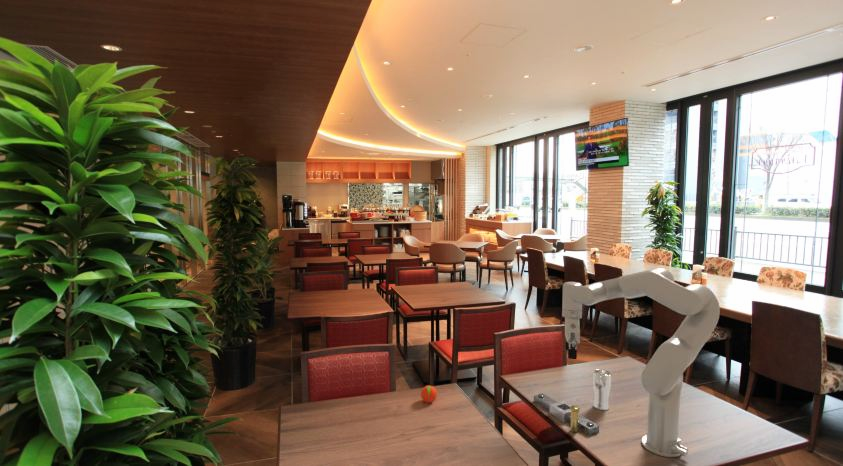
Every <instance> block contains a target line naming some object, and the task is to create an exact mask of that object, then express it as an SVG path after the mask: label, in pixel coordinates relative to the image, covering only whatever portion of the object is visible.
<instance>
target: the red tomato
mask: <svg viewBox="0 0 843 466" xmlns="http://www.w3.org/2000/svg"><path fill="white" fill-rule="evenodd" d="M420 396H421V399H422V401H424V402H425V403H427V404H429V403H433V402H434V401H435V400H436V399H437V397H438V392H437V389H436V388H435V387H434V386H432V385H429V384H428V385H425V386H424V387H423V388H422V389H421V392H420Z"/></svg>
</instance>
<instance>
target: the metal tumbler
mask: <svg viewBox="0 0 843 466" xmlns="http://www.w3.org/2000/svg"><path fill="white" fill-rule="evenodd" d="M592 387H593V394H594V400H593V404H592V406H593V408H595V409H597V410H599V411H608V410H609V409H610V405H609V396H610V393H611V389H612V373H611V371H609V370H607V369H606V370H605V369H601V368H597V369H594V370H593V377H592Z"/></svg>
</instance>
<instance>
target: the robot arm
mask: <svg viewBox="0 0 843 466" xmlns="http://www.w3.org/2000/svg"><path fill="white" fill-rule="evenodd" d="M674 278H675V277H674V275H673V273H672V272H671V271H669V270H668V269H667V268H661V267H658V268H657V267H656V268H652V269H647V270H644V271H639V272H633V273H631V274H625V275H621V276H619V277H615V278H611V279H610V278H609V279H606V280H602V281H597V282H593V283H591V284H587V285H586V284H585V285H583V284H582V283H581V282H578V281H577V282H576V281H565V282H564V283H563V284H562V299H561V300H562V306H561V307H562V308H561V316H562V317H563V318H564V336H565V350H566V351H567V359H570V360H577V359H578V358H577V357H578V356H577V355H578V349H577V344H580V342H581V339H580V338H581V328H580V326H581V325H580V323H581V321H580V319H582V318H583V306H593V305H595V304H598V303H601V302H604V301H608V300H614V299H619V298H626V299H635V298H641V297H645V296H646V297H648V298H650V299H652V300H654V301H656V302H657V303H659V304H661V305H662V306H665V307H667V308H668V309H669V310H672V311H673V312H676V313H679V314H680V315H684V316H685V318H684V319H683V321H681V323H680V325H679V327H678V328H677V330H676V331H675V332H674V334H673V335H672V336H671V337H670V338H668V339H667V340H665V341H664V342H663V343H661V344H660V345H659V346H658V348H657V349H656V351H655V352H654V354H653V355H652V356H651V358H650V359H649V360H648V362H647V364H646V365H645V367H644V368H643V370H642V372H641V375H640V382H641V384H642V387H643V388H644V390H645V391H646V392H647V393H648V401H647V402H648V403H647V404H648V405H647V422H646V423H647V425H646V426H647V427H646V434H645V435H643V436H642V438H641V445H642V446H643V448H645V449H646V450H647V451H649V452H650V453H652V454H655V455H657V456H662V457H667V458H675V457H680V456H682V457H684V458H687V457H688V455H689V454H688V451H689V448H688V447H686V446H684V445H682V444H681V443H682V439H680V438H679V426H680V425H679V422H680V407H681V406H680V405H681V395H682V388H683V381H684V372H685V371H686V370H687V368H688V367H689V366H691V365H692V363H693V362H694V361H695V360H696V358H697V356H698V355H699V354H700V353H699V352H700V351H701V350H702V348H703V347H704V346H705V344H706V342H707V341H708V340H709V338H710V336H711V335H712V333H713V332H714V330H715V328H716V327H717V324H718V323H719V319H720V312H721V307H720V303H719V300H718V298H717V296H716V295H715V294H714V291H712V290H711V289H710V288H709V287H707V286H706V285H703V284H698V283H696V284H695V283H694V284H689V285H687V286H683V285H680V284H679V283H678V282H675V279H674Z"/></svg>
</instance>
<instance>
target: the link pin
mask: <svg viewBox="0 0 843 466" xmlns="http://www.w3.org/2000/svg"><path fill="white" fill-rule="evenodd" d="M570 409H571V424H570V423H569V424H570V428H569V429H570V432H572V433H575V434H576V433H579V429H578V421H579V414H580V411H581V410H580V409H581V407H580V406H578V405H573V406H570Z"/></svg>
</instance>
